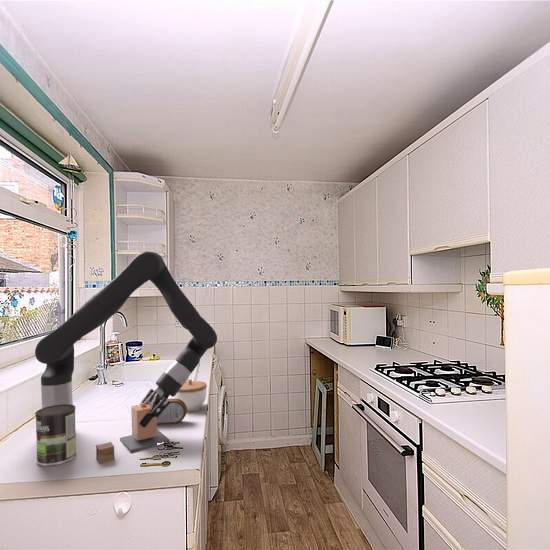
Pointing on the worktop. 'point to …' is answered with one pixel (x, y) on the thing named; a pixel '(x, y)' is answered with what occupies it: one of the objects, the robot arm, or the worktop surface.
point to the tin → (173, 412)
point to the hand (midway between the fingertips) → (138, 422)
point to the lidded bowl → (192, 394)
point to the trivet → (143, 442)
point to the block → (105, 452)
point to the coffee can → (55, 434)
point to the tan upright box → (137, 416)
